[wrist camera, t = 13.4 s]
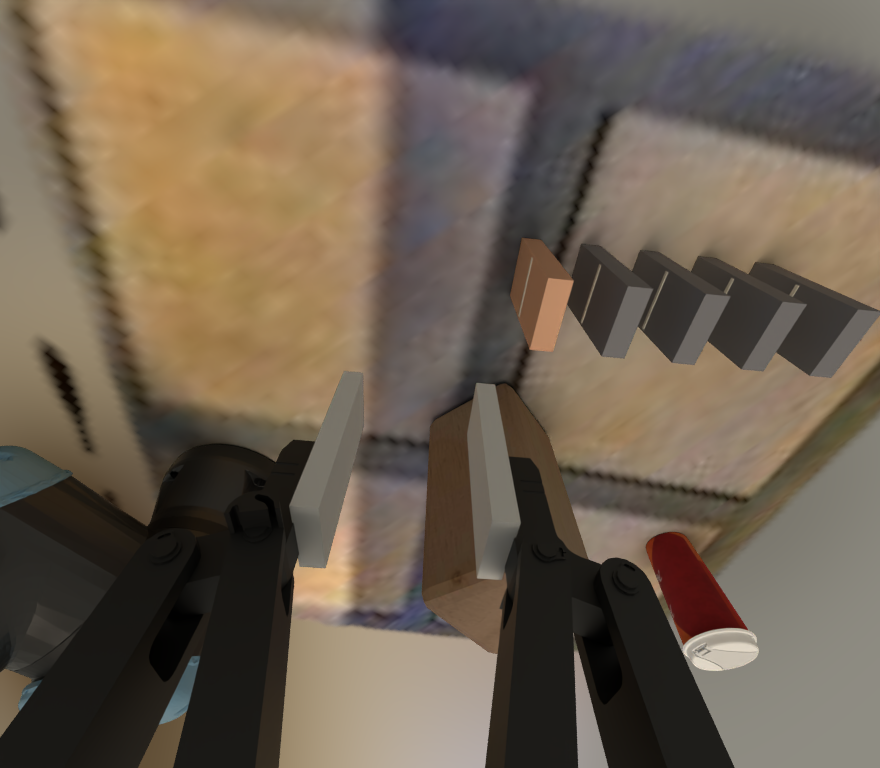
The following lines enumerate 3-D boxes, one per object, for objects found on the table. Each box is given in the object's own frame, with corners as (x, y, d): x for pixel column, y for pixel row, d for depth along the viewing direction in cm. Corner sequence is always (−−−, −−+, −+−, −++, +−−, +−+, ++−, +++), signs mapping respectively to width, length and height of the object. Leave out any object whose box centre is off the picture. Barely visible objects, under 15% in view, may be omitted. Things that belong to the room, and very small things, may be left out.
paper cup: (626, 553, 56) (673, 665, 45) (662, 521, 52) (724, 636, 41) (670, 565, 58) (727, 677, 46) (709, 535, 54) (781, 650, 42)
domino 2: (618, 306, 36) (671, 362, 27) (639, 250, 33) (705, 293, 25) (636, 308, 36) (695, 365, 27) (659, 252, 33) (731, 296, 25)
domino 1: (564, 300, 35) (601, 356, 27) (581, 243, 33) (627, 286, 24) (582, 302, 36) (625, 358, 27) (600, 246, 33) (653, 288, 24)
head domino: (541, 239, 33) (574, 280, 24) (528, 297, 35) (553, 351, 27) (521, 237, 32) (547, 278, 24) (509, 295, 35) (529, 349, 27)
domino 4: (725, 316, 36) (809, 375, 28) (754, 262, 33) (857, 309, 25) (743, 318, 36) (831, 377, 28) (774, 264, 33) (882, 311, 25)
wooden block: (426, 420, 43) (415, 607, 27) (506, 376, 40) (549, 558, 23) (475, 473, 48) (492, 661, 31) (550, 437, 44) (614, 627, 28)
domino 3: (672, 311, 36) (740, 369, 28) (697, 256, 33) (782, 301, 25) (690, 313, 36) (764, 371, 28) (717, 258, 33) (807, 304, 25)
